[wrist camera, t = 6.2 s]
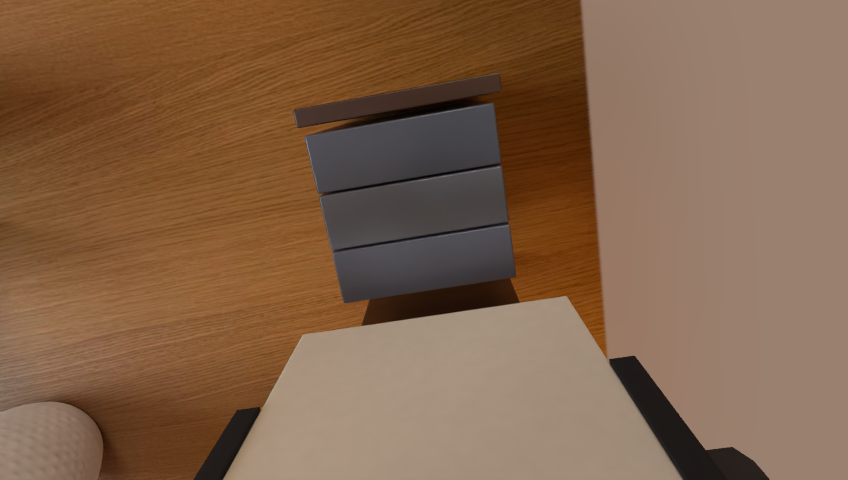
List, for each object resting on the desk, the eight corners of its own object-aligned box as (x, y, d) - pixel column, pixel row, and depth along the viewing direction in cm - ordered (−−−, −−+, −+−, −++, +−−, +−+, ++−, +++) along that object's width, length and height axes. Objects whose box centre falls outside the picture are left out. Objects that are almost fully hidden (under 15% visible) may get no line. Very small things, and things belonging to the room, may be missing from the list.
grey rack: (342, 105, 33) (285, 110, 20) (476, 80, 32) (502, 71, 20) (380, 282, 36) (351, 380, 24) (501, 264, 36) (537, 354, 23)
